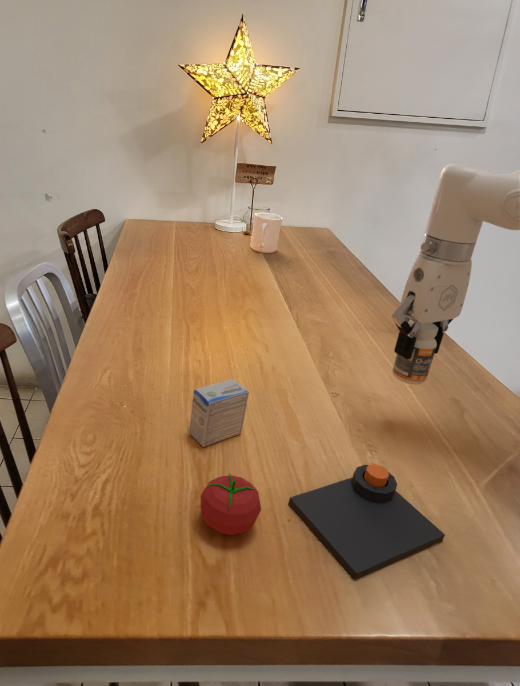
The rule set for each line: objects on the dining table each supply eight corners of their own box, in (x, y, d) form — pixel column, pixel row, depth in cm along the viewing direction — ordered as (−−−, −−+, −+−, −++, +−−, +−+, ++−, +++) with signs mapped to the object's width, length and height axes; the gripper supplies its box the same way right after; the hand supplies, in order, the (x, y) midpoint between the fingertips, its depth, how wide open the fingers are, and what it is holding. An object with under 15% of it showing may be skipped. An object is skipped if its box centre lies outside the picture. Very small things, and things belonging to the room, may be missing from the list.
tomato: (191, 538, 68) (197, 492, 65) (203, 497, 75) (209, 453, 72) (253, 553, 67) (262, 507, 64) (260, 509, 74) (269, 466, 71)
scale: (371, 476, 84) (376, 460, 82) (442, 540, 73) (449, 524, 72) (287, 503, 76) (291, 487, 75) (354, 580, 66) (360, 563, 64)
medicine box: (226, 420, 92) (232, 377, 88) (242, 434, 89) (249, 390, 85) (187, 433, 88) (193, 388, 84) (203, 448, 85) (209, 402, 81)
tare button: (375, 471, 81) (378, 461, 80) (390, 484, 78) (393, 475, 78) (359, 476, 79) (362, 466, 79) (374, 490, 77) (377, 480, 76)
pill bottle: (415, 389, 90) (431, 335, 85) (385, 374, 93) (399, 322, 89) (431, 379, 93) (448, 327, 89) (402, 366, 97) (416, 315, 92)
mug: (275, 247, 192) (281, 214, 187) (278, 257, 182) (284, 222, 176) (249, 243, 192) (254, 211, 186) (250, 253, 181) (255, 219, 176)
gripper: (427, 259, 76) (395, 371, 84) (502, 253, 84) (467, 355, 92) (388, 244, 82) (362, 350, 90) (463, 239, 90) (433, 337, 98)
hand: (416, 351), depth 91 cm, fingers closed on pill bottle, 5 cm apart
